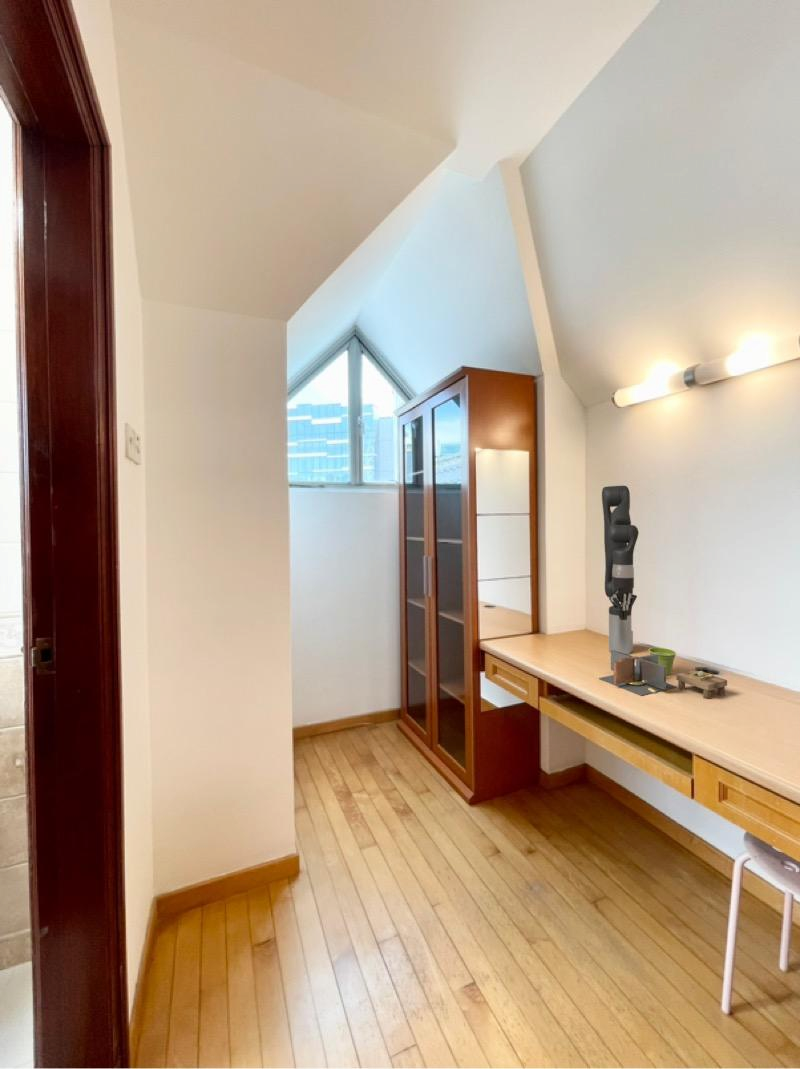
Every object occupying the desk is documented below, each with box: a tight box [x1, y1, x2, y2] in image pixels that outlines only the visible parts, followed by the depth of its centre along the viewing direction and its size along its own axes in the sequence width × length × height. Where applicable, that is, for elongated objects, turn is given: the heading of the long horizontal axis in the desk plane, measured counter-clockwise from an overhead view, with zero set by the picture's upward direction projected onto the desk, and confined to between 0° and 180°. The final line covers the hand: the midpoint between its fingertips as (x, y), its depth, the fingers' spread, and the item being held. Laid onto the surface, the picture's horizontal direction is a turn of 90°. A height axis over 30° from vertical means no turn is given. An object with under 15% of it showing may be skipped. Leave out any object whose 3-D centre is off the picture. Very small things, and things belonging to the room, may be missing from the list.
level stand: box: [675, 670, 728, 700], centre depth 153 cm, size 10×11×7 cm
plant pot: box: [648, 647, 678, 676], centre depth 171 cm, size 9×9×9 cm
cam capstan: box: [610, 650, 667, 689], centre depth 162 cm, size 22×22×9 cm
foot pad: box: [598, 674, 678, 697], centre depth 161 cm, size 18×19×1 cm
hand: (623, 619), depth 172 cm, fingers closed
